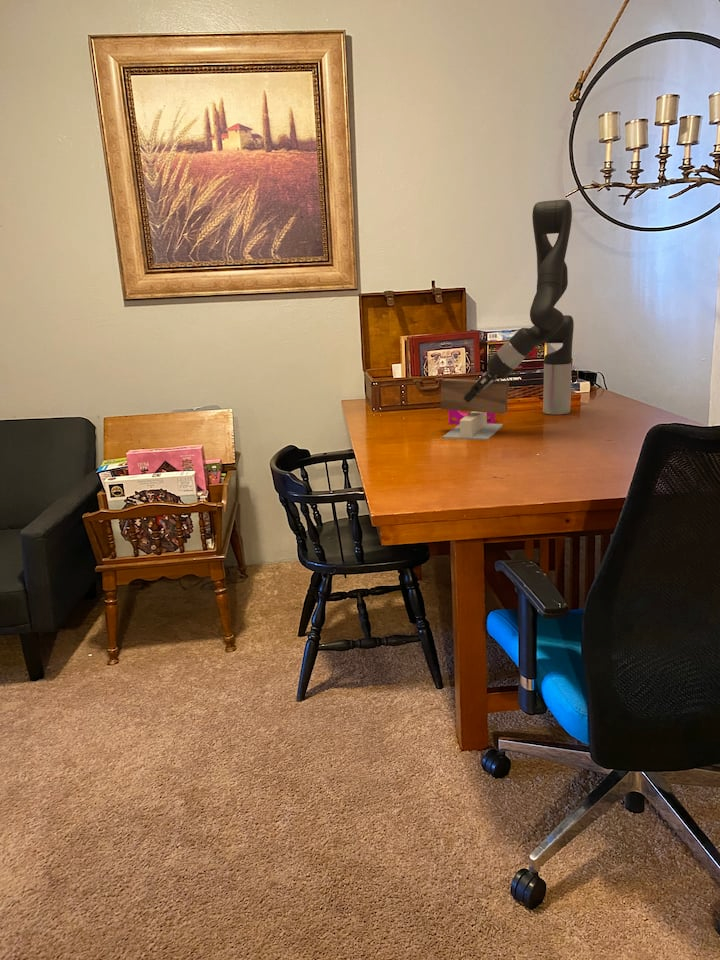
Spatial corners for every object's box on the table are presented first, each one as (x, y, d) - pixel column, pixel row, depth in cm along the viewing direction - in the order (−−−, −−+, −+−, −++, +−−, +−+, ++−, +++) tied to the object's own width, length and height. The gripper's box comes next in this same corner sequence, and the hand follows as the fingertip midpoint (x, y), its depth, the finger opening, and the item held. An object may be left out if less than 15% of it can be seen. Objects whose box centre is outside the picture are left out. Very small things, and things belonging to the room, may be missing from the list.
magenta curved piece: (494, 422, 233) (494, 400, 231) (494, 425, 227) (494, 403, 225) (449, 422, 236) (449, 401, 234) (448, 426, 230) (448, 404, 228)
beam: (444, 406, 220) (445, 378, 218) (507, 411, 213) (508, 382, 210) (440, 409, 216) (441, 380, 214) (504, 413, 209) (505, 384, 206)
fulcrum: (461, 425, 229) (461, 407, 227) (503, 426, 223) (503, 408, 222) (442, 440, 210) (441, 420, 208) (487, 441, 204) (487, 421, 202)
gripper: (502, 348, 213) (465, 387, 221) (492, 353, 200) (453, 394, 208) (520, 365, 212) (481, 403, 220) (510, 371, 200) (470, 411, 208)
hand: (468, 398), depth 214 cm, fingers closed on beam, 4 cm apart
